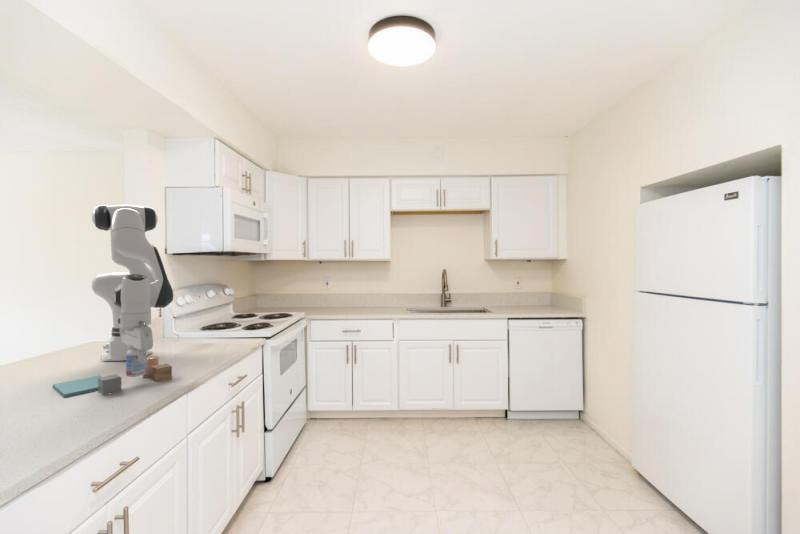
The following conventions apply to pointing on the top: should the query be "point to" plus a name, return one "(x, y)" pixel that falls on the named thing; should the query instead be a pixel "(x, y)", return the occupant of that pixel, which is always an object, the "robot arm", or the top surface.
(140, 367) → the pill bottle
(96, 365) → the top surface
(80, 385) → the teal board
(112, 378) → the charcoal block
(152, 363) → the peach capsule cylinder
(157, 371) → the walnut block
